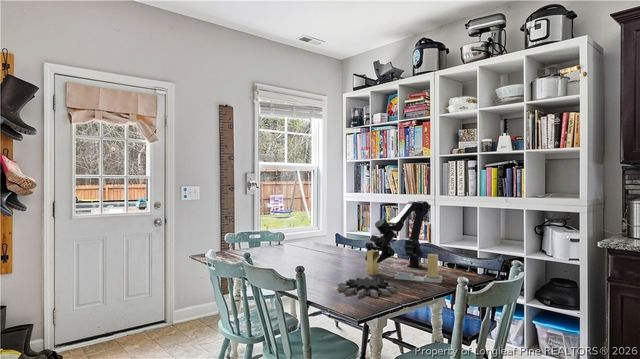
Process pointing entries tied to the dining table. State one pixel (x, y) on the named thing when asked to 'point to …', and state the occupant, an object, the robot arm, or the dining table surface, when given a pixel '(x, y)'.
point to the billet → (372, 262)
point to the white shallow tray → (416, 277)
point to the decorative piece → (367, 287)
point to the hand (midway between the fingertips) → (371, 261)
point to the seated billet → (433, 266)
